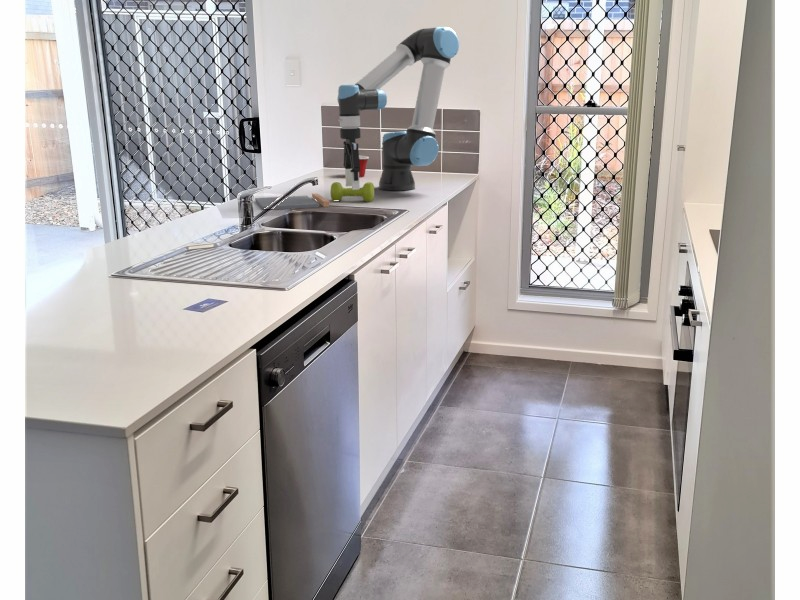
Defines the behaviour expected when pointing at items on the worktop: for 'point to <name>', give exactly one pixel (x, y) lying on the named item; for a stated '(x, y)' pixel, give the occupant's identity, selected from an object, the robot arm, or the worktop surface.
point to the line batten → (321, 200)
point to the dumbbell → (352, 191)
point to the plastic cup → (362, 165)
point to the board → (288, 202)
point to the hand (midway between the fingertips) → (352, 187)
